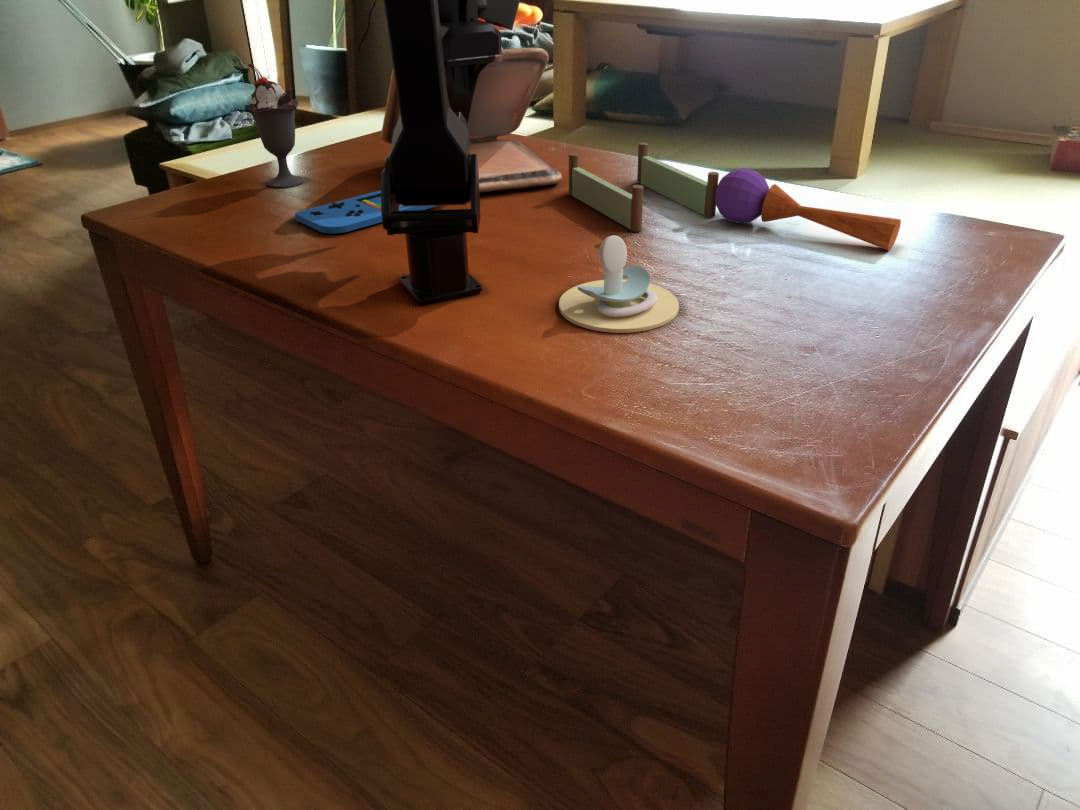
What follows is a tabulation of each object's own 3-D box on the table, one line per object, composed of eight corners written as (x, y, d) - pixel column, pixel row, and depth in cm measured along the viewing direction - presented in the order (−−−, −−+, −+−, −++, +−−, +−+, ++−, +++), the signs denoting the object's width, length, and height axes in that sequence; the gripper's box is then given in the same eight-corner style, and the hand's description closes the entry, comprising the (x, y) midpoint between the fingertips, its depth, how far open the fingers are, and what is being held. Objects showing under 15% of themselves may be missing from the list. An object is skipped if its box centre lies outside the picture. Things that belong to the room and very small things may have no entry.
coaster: (702, 316, 78) (702, 312, 78) (595, 343, 74) (595, 339, 73) (638, 274, 86) (638, 271, 86) (538, 296, 82) (538, 292, 82)
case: (517, 147, 128) (515, 30, 120) (570, 185, 111) (570, 52, 103) (380, 161, 122) (368, 39, 114) (413, 204, 105) (401, 64, 97)
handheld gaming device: (292, 210, 102) (399, 182, 110) (294, 219, 102) (400, 191, 111) (328, 227, 96) (437, 197, 105) (330, 237, 97) (438, 206, 105)
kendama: (891, 223, 86) (707, 177, 95) (878, 273, 90) (704, 224, 99) (910, 196, 89) (731, 154, 98) (897, 246, 93) (727, 201, 102)
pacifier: (671, 304, 79) (624, 283, 83) (677, 239, 76) (627, 221, 80) (615, 328, 75) (568, 306, 79) (619, 262, 72) (569, 241, 76)
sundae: (255, 179, 117) (232, 61, 109) (305, 172, 119) (286, 56, 112) (264, 192, 112) (240, 70, 104) (316, 185, 114) (296, 64, 106)
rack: (717, 216, 101) (721, 173, 98) (634, 232, 96) (636, 188, 94) (643, 180, 113) (644, 141, 110) (567, 193, 109) (566, 153, 106)
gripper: (548, -44, 82) (550, 125, 90) (473, -54, 96) (481, 93, 104) (437, -38, 78) (450, 139, 86) (376, -48, 92) (392, 103, 100)
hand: (446, 116), depth 94 cm, fingers open, 9 cm apart
